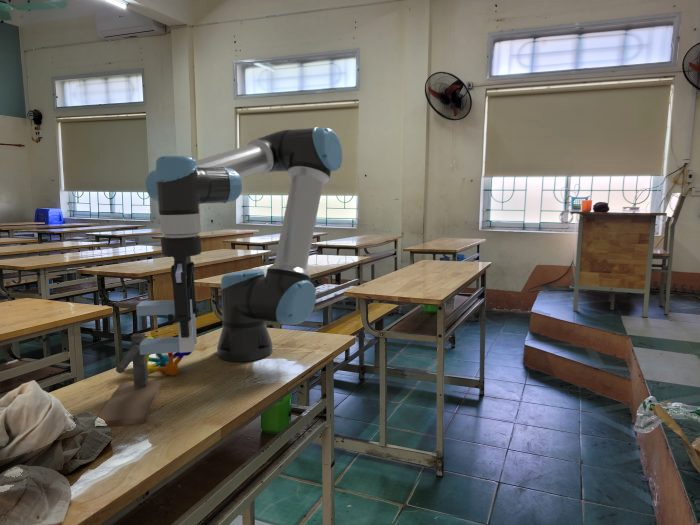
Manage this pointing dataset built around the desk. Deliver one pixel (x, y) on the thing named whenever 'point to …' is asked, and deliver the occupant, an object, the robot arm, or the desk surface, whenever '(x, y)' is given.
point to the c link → (159, 343)
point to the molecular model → (165, 362)
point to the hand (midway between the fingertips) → (188, 347)
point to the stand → (132, 391)
